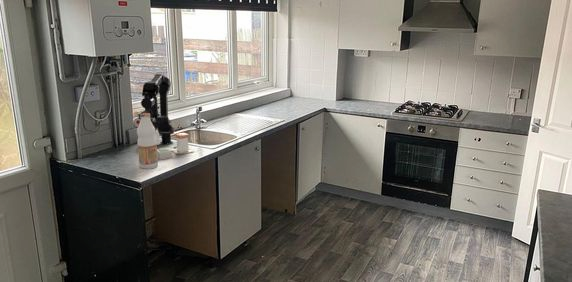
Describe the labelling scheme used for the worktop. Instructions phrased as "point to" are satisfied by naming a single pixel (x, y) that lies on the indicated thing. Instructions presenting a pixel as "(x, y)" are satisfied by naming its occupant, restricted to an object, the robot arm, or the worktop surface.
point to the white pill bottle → (182, 142)
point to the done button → (163, 149)
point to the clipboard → (180, 152)
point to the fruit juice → (147, 143)
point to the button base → (164, 154)
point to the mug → (157, 137)
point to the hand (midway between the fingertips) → (154, 132)
